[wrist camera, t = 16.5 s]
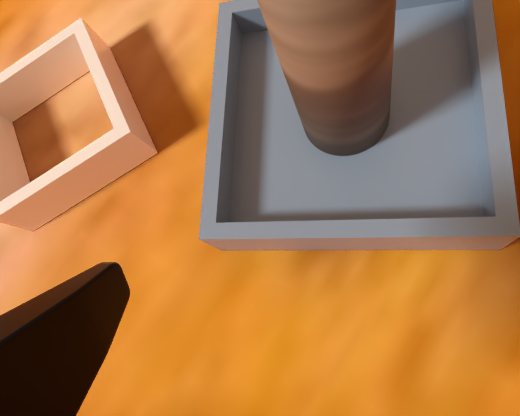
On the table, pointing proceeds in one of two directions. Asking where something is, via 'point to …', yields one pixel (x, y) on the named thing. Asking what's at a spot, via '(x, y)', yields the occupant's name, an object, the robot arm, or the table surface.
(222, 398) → the table surface
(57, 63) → the holder
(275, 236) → the tray
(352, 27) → the pepper mill
